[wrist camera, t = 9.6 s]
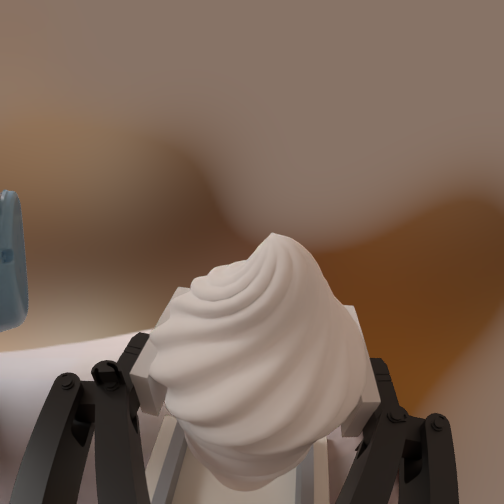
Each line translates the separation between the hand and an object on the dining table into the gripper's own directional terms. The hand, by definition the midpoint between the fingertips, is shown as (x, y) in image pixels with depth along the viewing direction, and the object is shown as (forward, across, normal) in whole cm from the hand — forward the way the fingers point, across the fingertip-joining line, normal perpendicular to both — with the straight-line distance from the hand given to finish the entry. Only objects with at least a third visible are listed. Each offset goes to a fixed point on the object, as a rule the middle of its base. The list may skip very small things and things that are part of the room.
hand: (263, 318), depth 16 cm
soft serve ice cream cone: (-5, 0, -9) cm, 10 cm away
